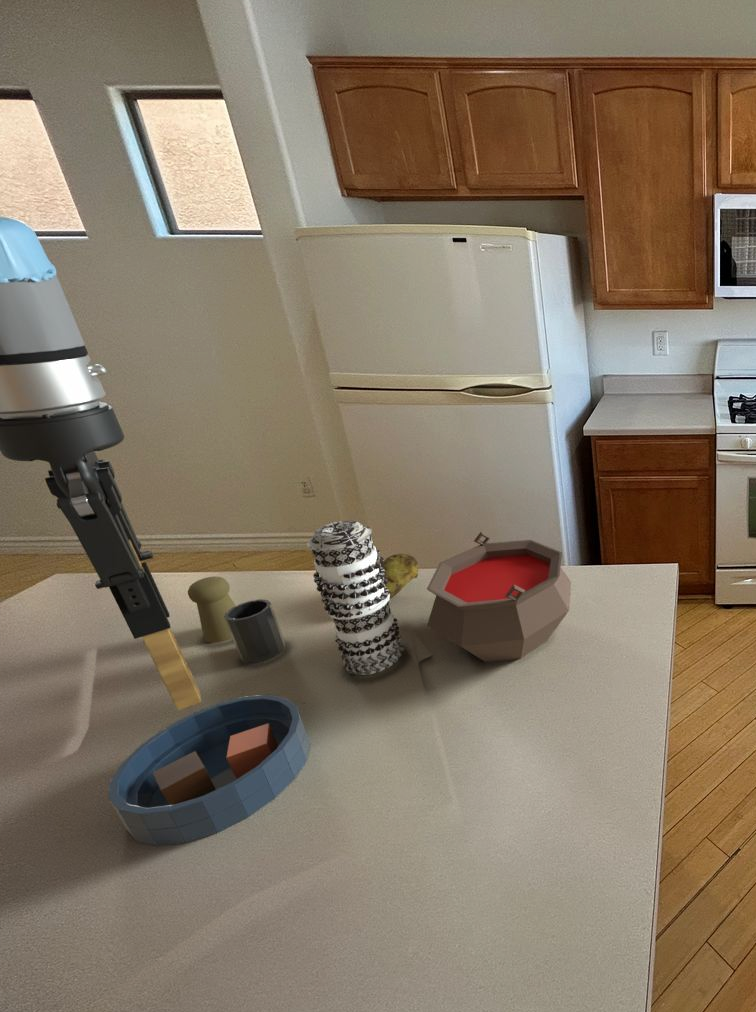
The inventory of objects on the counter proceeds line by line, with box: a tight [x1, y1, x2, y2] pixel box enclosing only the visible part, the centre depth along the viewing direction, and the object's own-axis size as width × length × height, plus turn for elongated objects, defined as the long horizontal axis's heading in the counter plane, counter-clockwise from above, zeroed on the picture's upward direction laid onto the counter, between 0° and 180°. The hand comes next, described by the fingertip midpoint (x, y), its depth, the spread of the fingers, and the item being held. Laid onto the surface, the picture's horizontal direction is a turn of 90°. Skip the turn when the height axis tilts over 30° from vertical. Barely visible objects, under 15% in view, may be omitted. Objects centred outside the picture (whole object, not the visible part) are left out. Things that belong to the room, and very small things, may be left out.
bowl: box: [108, 694, 311, 847], centre depth 69 cm, size 18×18×6 cm
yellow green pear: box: [381, 553, 419, 600], centre depth 106 cm, size 8×13×8 cm, turn 139°
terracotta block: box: [226, 723, 278, 779], centre depth 71 cm, size 4×4×4 cm
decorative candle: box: [306, 520, 405, 676], centre depth 86 cm, size 9×9×25 cm
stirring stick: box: [129, 540, 202, 711], centre depth 58 cm, size 2×2×20 cm
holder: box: [224, 599, 286, 665], centre depth 91 cm, size 6×6×9 cm
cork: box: [187, 576, 236, 644], centre depth 95 cm, size 6×6×11 cm
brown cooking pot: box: [426, 530, 572, 663], centre depth 95 cm, size 24×24×16 cm
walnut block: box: [152, 751, 216, 806], centre depth 67 cm, size 4×4×4 cm
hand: (152, 625), depth 58 cm, fingers closed on stirring stick, 2 cm apart
